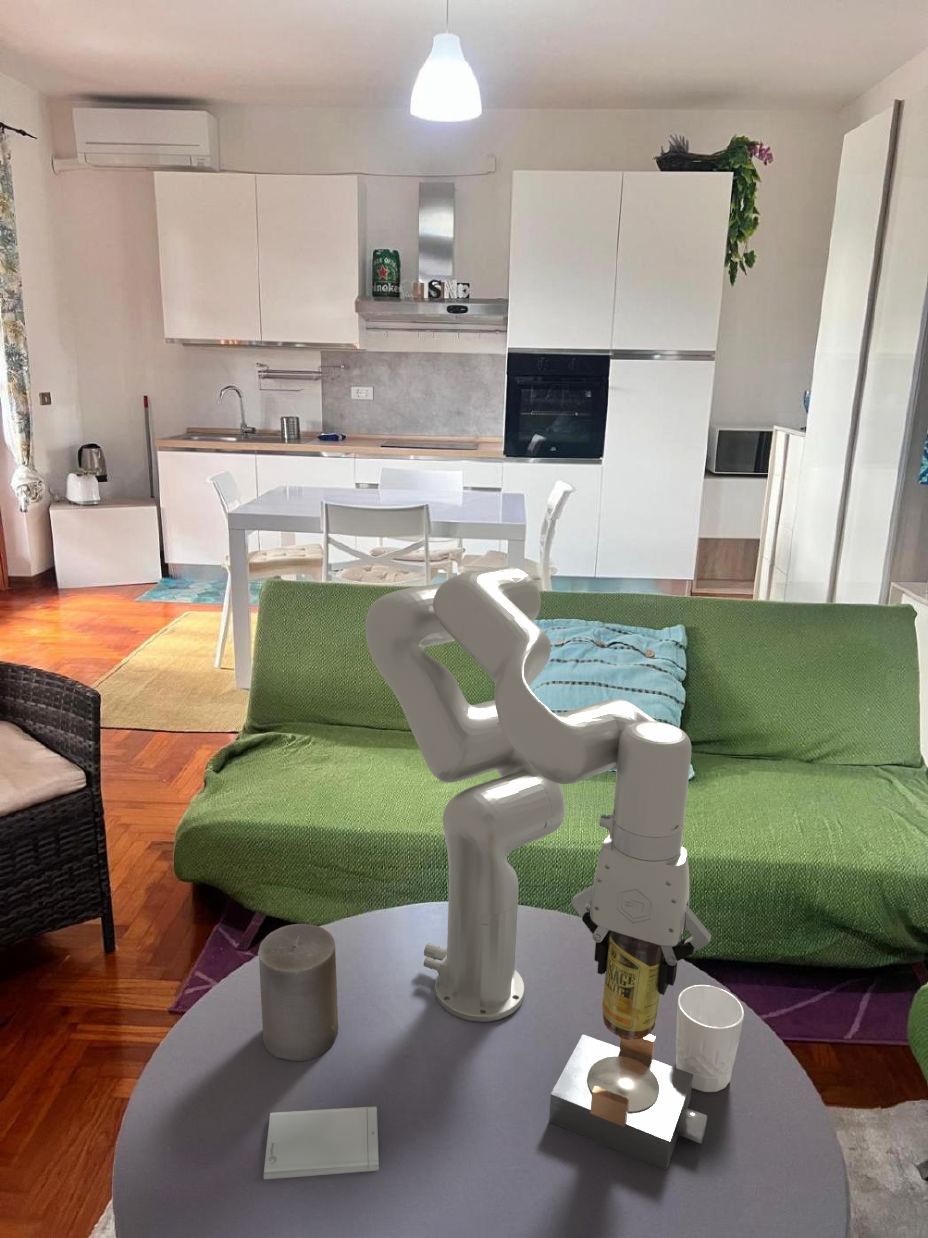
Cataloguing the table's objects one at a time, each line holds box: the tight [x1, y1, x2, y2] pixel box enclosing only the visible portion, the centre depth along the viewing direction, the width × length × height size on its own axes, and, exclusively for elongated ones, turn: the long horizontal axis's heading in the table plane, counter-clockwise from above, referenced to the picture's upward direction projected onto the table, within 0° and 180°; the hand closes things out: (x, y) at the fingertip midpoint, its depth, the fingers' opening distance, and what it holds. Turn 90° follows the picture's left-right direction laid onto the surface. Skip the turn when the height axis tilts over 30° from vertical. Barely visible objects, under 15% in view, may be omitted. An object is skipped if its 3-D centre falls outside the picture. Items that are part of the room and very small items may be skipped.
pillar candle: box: [257, 923, 339, 1062], centre depth 117 cm, size 10×10×15 cm
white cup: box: [675, 984, 745, 1093], centre depth 113 cm, size 8×8×10 cm
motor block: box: [548, 1033, 708, 1171], centre depth 107 cm, size 17×12×7 cm
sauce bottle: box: [601, 931, 664, 1040], centre depth 102 cm, size 6×6×20 cm
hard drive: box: [263, 1106, 380, 1180], centre depth 103 cm, size 2×8×12 cm
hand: (633, 976), depth 103 cm, fingers closed on sauce bottle, 6 cm apart
